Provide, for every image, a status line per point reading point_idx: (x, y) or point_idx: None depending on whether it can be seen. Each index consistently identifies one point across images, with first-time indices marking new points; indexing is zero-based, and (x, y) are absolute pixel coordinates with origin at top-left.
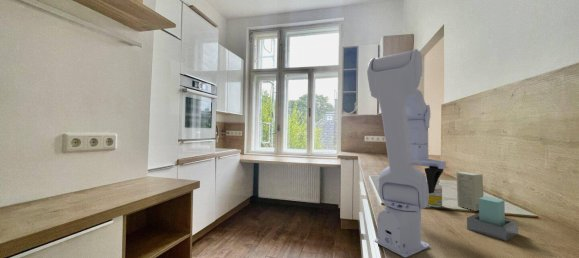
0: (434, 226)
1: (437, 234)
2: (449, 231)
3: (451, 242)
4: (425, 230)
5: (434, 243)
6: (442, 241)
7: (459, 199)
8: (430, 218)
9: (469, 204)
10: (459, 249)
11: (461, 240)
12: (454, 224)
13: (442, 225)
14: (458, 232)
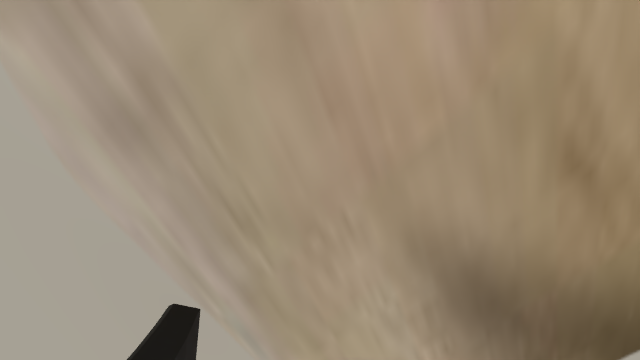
0: (471, 162)
1: (503, 264)
2: (567, 179)
3: (574, 307)
4: (436, 255)
5: (501, 355)
6: (533, 321)
7: None
8: (414, 6)
9: None
10: (605, 346)
11: (627, 257)
12: (610, 3)
13: (519, 102)
14: (624, 156)
